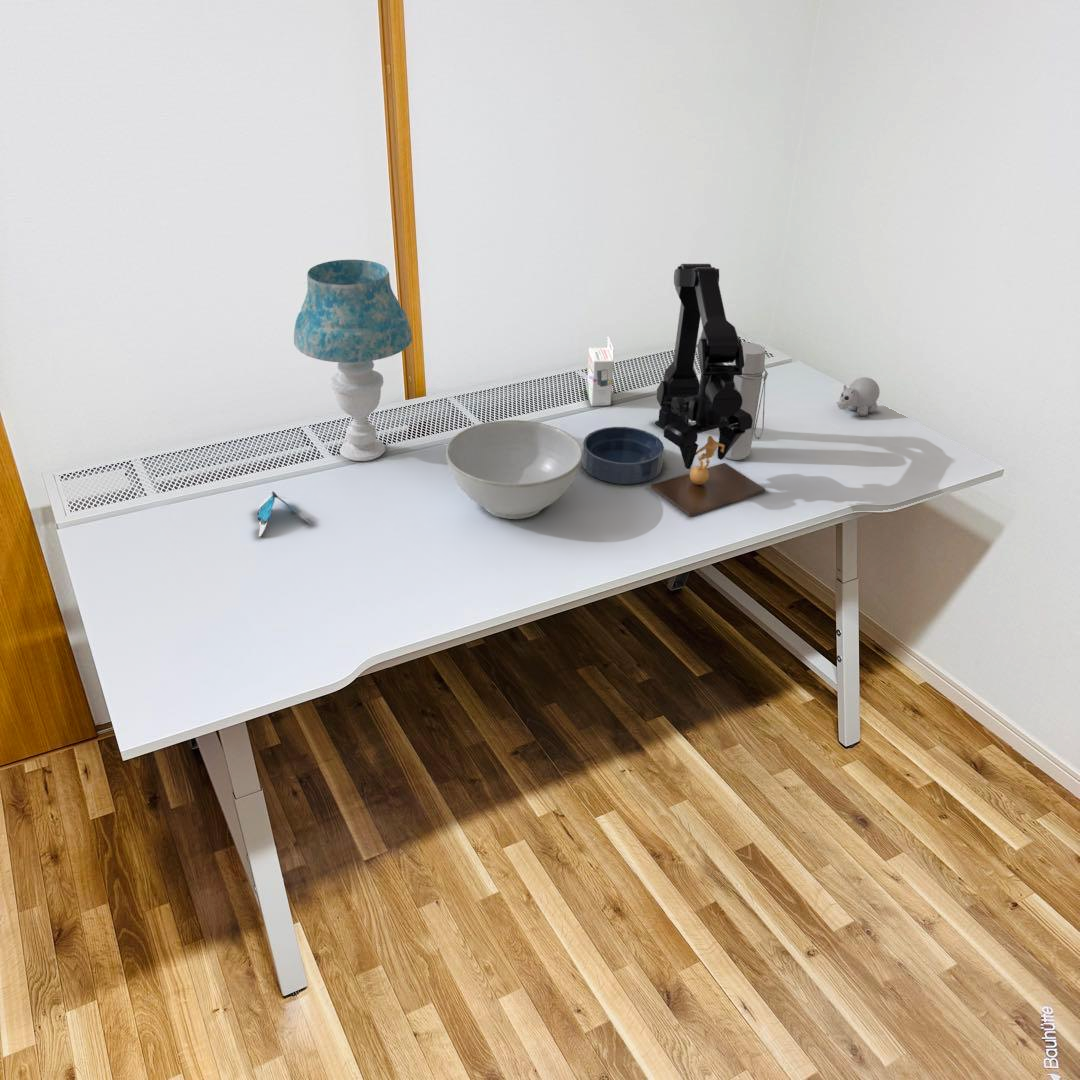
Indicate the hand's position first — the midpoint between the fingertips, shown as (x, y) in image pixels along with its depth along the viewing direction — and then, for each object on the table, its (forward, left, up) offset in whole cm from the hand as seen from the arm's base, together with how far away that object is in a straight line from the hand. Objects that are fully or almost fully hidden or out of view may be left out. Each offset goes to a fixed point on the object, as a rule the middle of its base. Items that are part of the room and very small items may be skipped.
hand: (703, 463), depth 203 cm
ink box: (-6, -47, -6) cm, 48 cm away
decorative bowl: (+37, -14, -6) cm, 40 cm away
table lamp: (+55, -49, -6) cm, 74 cm away
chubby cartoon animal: (-56, -11, -6) cm, 57 cm away
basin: (+9, -16, -6) cm, 19 cm away
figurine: (0, 0, -6) cm, 6 cm away
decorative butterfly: (+80, -31, -6) cm, 86 cm away
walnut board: (-1, +1, -6) cm, 6 cm away
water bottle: (-17, -8, -6) cm, 20 cm away
